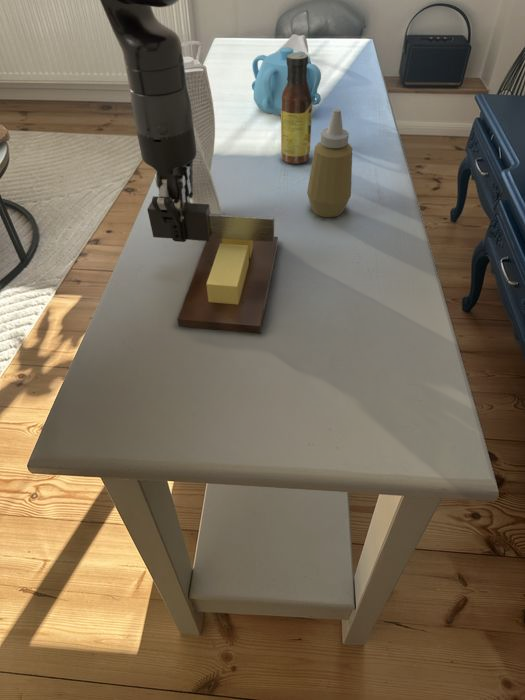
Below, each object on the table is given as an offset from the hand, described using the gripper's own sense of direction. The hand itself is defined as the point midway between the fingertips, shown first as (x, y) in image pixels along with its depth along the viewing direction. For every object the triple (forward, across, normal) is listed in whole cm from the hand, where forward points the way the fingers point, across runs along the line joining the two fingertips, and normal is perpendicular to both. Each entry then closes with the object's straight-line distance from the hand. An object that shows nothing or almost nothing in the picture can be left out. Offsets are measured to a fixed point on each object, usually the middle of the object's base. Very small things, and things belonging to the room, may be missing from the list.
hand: (182, 234), depth 76 cm
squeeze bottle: (+6, -19, +22) cm, 30 cm away
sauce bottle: (+6, -39, +14) cm, 42 cm away
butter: (+4, +6, +8) cm, 11 cm away
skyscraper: (+6, -13, -1) cm, 15 cm away
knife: (0, 0, +5) cm, 5 cm away
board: (+6, +4, +8) cm, 11 cm away
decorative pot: (+6, -66, +9) cm, 67 cm away
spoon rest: (+6, -97, +8) cm, 98 cm away
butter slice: (+4, -2, +8) cm, 10 cm away
